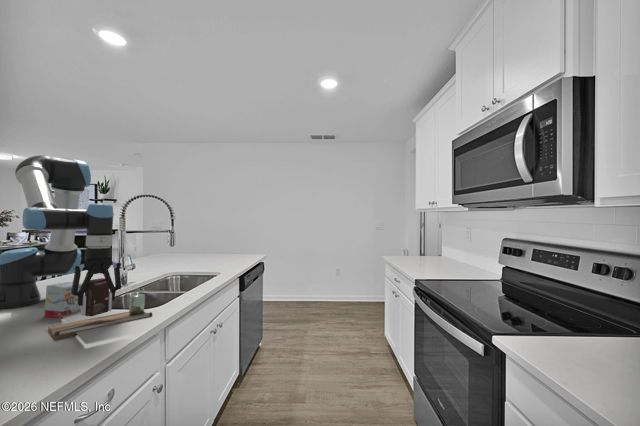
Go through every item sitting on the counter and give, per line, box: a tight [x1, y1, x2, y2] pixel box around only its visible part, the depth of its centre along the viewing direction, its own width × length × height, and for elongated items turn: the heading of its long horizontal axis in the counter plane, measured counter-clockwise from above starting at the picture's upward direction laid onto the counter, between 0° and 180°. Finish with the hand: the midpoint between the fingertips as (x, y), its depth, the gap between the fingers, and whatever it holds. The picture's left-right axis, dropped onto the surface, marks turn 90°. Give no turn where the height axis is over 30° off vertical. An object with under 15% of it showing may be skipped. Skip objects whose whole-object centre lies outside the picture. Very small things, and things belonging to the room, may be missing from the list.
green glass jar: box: [128, 293, 146, 316], centre depth 118 cm, size 5×5×7 cm
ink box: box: [44, 281, 83, 319], centre depth 118 cm, size 9×9×12 cm
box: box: [84, 277, 110, 318], centre depth 108 cm, size 6×4×12 cm
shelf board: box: [47, 311, 153, 341], centre depth 108 cm, size 12×28×2 cm, turn 139°
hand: (96, 312), depth 108 cm, fingers closed on box, 7 cm apart
